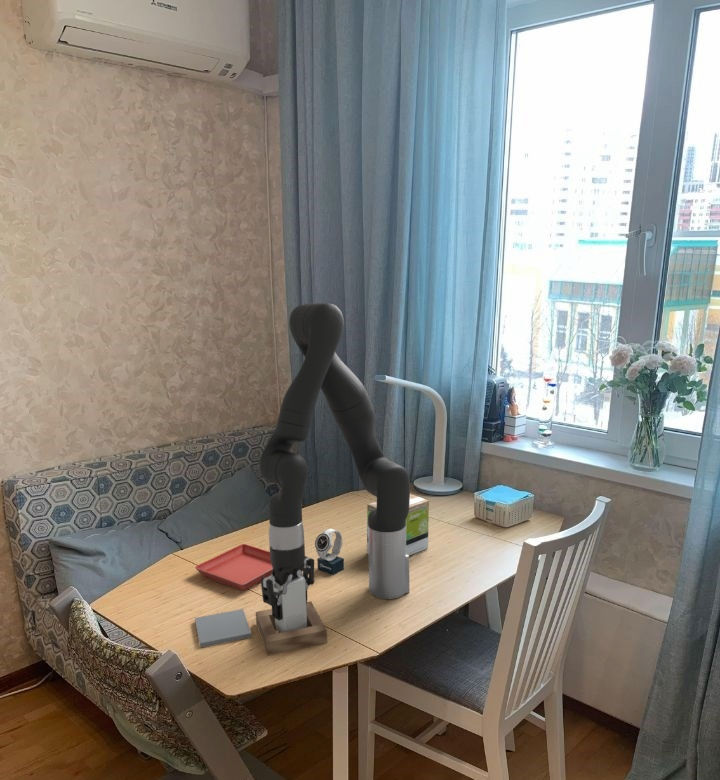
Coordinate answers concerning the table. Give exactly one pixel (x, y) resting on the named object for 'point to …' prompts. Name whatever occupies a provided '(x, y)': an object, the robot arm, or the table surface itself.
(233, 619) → the slate mat
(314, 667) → the table surface
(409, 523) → the tea box
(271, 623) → the walnut collar
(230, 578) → the plant saucer
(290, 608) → the skincare box
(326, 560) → the watch
